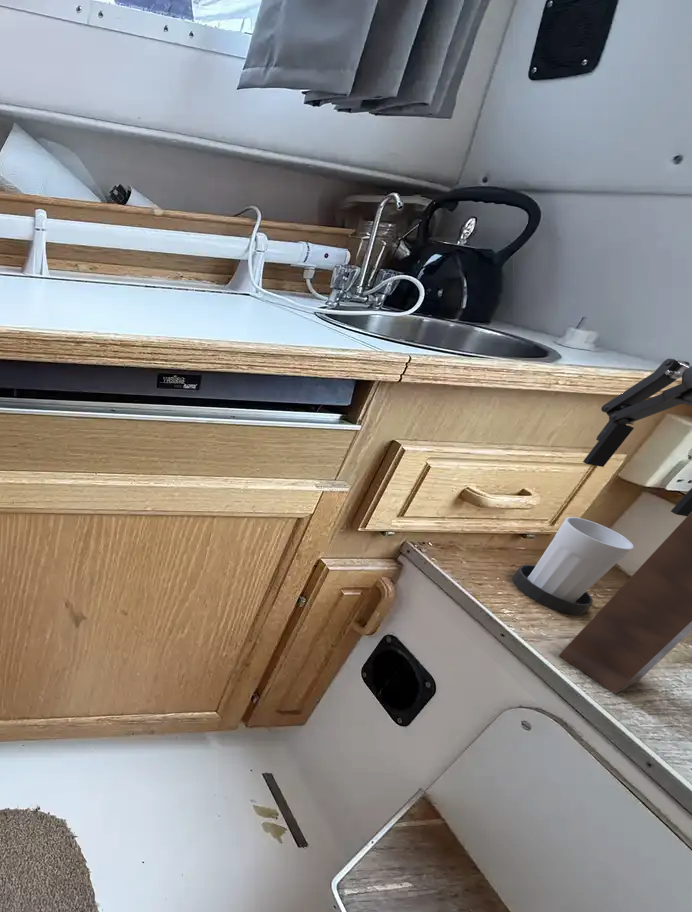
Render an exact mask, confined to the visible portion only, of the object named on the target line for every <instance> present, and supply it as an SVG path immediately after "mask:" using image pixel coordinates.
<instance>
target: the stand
mask: <svg viewBox="0 0 692 912" xmlns="http://www.w3.org/2000/svg"><path fill="white" fill-rule="evenodd" d="M691 632H692V512H691V513H690V514H689V515H688V516H685V518H684V519H683V520H682V521H681V522H680V523H679V525H678V526H677V527H675V529H674V530H673V531H672V532H671V533H670V534H669V535H668V537H666V539H664V541H663V542H661V544H660V545H659V546H658V547H657V548H656V549H655V551H654V552H653V553H652V554H651V555H650V556H649V557H648V558H647V559H646V560H645V561H644V562H643V563H642V565H641V566H640V567H639V568H638V569H637V570H636V571H635V572H634V574H632V575H631V576H630V577H629V579H628V580H627V581H626V582H625V583H624V584H623V585H622V586H621V587H620V588H619V589H618V591H616V593H614V595H612V597H611V598H610V599H609V600H608V601H607V602H606V603H605V604H604V606H603V607H602V608H601V609H600V610H599V611H598V612H597V613H596V614H595V615H594V616H593V617H592V618H591V619H590V620H589V621H588V622H587V624H586V625H585V626H584V627H583V628H582V629H581V631H580V632H579V633H578V634H577V635H575V637H574V638H572V640H571V641H570V642H569V643H568V644H567V646H566V647H565V648H564V649H563V650H562V651H561V652H560V653H559V654H558V656H559V657H560V658H561V659H563V660H564V661H566V662H567V663H569V664H570V665H571V666H574V667H575V668H576V669H578V670H579V671H580V672H582V673H584V674H585V675H587V677H589V678H591V679H592V680H594V681H595V682H597V683H598V684H600V685H601V686H603V688H606V689H607V690H609V691H610V692H612V693H613V694H615V695H616V694H618V693H619V692H621V691H623V690H626V689H627V688H628V687H631V686H632V685H634V684H637V683H638V682H639V681H640V680H641V679H642V678H643V677H644V676H646V675H647V673H648V672H650V670H652V669H653V668H654V667H655V666H656V665H657V664H659V662H660V661H661V660H662V659H663V658H665V657H666V656H667V655H668V654H669V653H670V652H671V651H672V650H673V649H674V648H676V646H677V645H679V644H680V643H681V642H682V640H684V639H685V638H686V637H687V636H688V635H689V634H690V633H691Z"/></svg>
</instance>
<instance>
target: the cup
mask: <svg viewBox="0 0 692 912" xmlns="http://www.w3.org/2000/svg"><path fill="white" fill-rule="evenodd" d="M633 549H634V544H633V543H632V542H631V540H629V539H628V538H627V537H625V536H624V535H622V534H620V533H619V532H617V531H615V530H613V529H611V528H610V527H607V526H605V525H602V524H600V523H597V522H595V521H592V520H588V519H585V518H581V517H576V516H569V517H566V518H565V519H564V520H563V522H562V524H561V525H560V527H559V528H558V530H557V532H556V534H554V537H553V539H552V540H551V541H550V543H549V545H548V546H547V548H546V550H545V551H544V552H543V554H542V555H541V557H540V558H539V560H538V561H537V563H536V565H535V568H534V569H533V571H532V572H531V574H530V575H529V576H526V578H527V579H528V580H530V581H531V582H532V583H533V584H535V585H536V586H538V587H539V588H541V589H542V590H544V591H546V592H548V593H550V594H552V595H554V596H556V597H558V598H561V599H563V600H566V601H569V602H573V603H576V602H577V600H578V599H579V598H580V597H581V596H582V595H583V594H584V593H585V592H588V591H589V590H590V589H591V588H592V587H593V586H594V585H595V584H596V583H597V582H598V581H599V580H600V579H601V578H602V577H604V576H605V575H606V574H607V573H608V572H609V571H610V570H611V569H612V568H613V567H614V566H615V565H616V564H618V563H619V562H620V561H621V560H622V559H623V558H624V557H625V556H626V555H628V554H629V553H630V552H631V551H632V550H633Z"/></svg>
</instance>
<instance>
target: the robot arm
mask: <svg viewBox="0 0 692 912" xmlns="http://www.w3.org/2000/svg"><path fill="white" fill-rule="evenodd" d="M679 379H681V383H679V384H676V385H675V386H672V387H670V388H667V387H669V386H670V385H671V384H673V383H675V381H677V380H679ZM665 388H667V389H665ZM663 389H664V390H663ZM661 391H662V393H659V392H661ZM623 392H624V393H623ZM623 392H622V393H623V394H622V393H620V394H619V395H617V396H615V397H614V398H612V399H610V400H609V401H607V402H606V403H605V404H603V405H602V406H601V408H600V410H601V412H602V413H606V415H607V416H608V422H607V423H606V424H605V425H604V427H603V428H602V430H601V431H600V432H599V433H598V435H597V436H596V441H597V443H596V444H595V445H594V446H593V448H592V449H591V450H590V452H589V453H588V454H587V456H586V457H585V458H584V459H583V461H582V463H583V464H586V465H588V466H589V465H590V466H594V467H601V468H604V467H605V466H606V465H607V464H608V462H609V460H610V459H611V458H612V457H613V455H615V453H616V452H617V450H618V449H619V448H620V447H621V445H623V444H624V442H625V440H626V439H627V438H628V436H630V434H631V433H632V431H633V430H634V429H635V427H634V422H638V421H640V420H642V419H645V418H648V417H650V416H653V415H656V414H658V413H661V412H664V411H666V410H669V409H672V408H675V407H677V406H680V405H686V406H691V407H692V365H691V363H690V362H689V361H686V360H681V359H675V358H666V359H665V360H664V361H663V362H662V363H661V364H660V365H659V366H658V367H657V368H656V370H654V371H653V372H652V373H650V374H648V376H646V377H644V378H643V379H642V380H640V381H638V382H637V383H635V384H634V385H632V386H631V387H629V388H628V389H626V390H624V391H623ZM656 393H659V394H657V395H655V394H656ZM654 395H655V396H654ZM632 425H633V426H632ZM670 512H671V513H672V514H674V515H677V516H682V517H687V516H688V515H689V514H690V513H691V512H692V487H691V488H690V489H689V490H688V491H687V492H686V493H685V494H684V496H683V497H682V498H681V499H680V500H679V501H678V503H676V505H674V507H673V508H672V509H671V510H670Z"/></svg>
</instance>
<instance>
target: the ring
mask: <svg viewBox="0 0 692 912" xmlns="http://www.w3.org/2000/svg"><path fill="white" fill-rule="evenodd" d="M535 566H536V565H534V564H522V565H520V566H519V567H518V569H517V570H516V571H515V573H514V574H513V575H512V577H511V579H512V582H513V584H514V585H515V586H516V588H517V589H518V590H520V591H521V592H522V593H523V594H524V595H525V596H528V597H529V598H530V599H532V600H533V601H535V602H537V603H538V604H541V605H543V606H544V607H546V608H548V609H551V610H554V611H556V612H559V613H562V614H565V615H569V616H581V615H583V614H585V613H586V612H587V610H588V609H589V608H590V607H591V606H592V605H593V603H594V599H593V597H592V595H591V594H590V593H589V592H588V591H586V592H585V593H584V594H583V595H582V596H581V597H580V598H579V599H578V600H577V601H576V602H577V603H576V602H575V603H573V602H569V601H566V600H563V599H561V598H558V597H556V596H554V595H552V594H550V593H548V592H546V591H544V590H542V589H541V588H539V587H538V586H536V585H535V584H533V583H532V582H531V581H530V580H528V579H527V577H528V576H529V575H530V574H531V572H532V571H533V569H534V568H535Z"/></svg>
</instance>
